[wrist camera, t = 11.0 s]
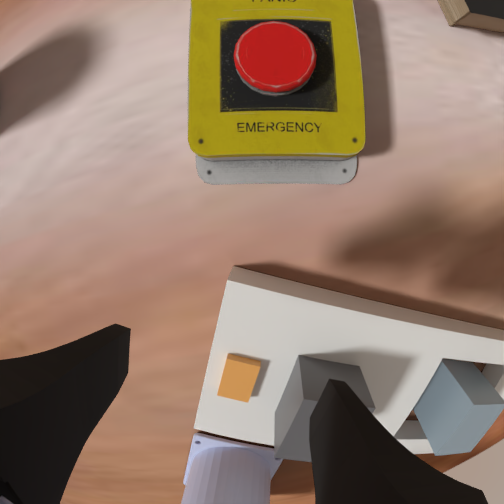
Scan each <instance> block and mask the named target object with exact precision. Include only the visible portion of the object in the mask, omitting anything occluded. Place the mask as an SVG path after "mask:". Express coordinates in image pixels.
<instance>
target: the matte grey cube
mask: <svg viewBox="0 0 504 504" xmlns="http://www.w3.org/2000/svg"><path fill="white" fill-rule="evenodd" d="M329 379H334V380H340V381H345V382H346V383H347V384H348V385H349V387H350V388H351V389H352V390H353V391H354V393H355V394H356V395H357V396H358V397H359V399H360V400H361V401H362V402H363V403H364V405H365V406H366V407H367V408H368V409H369V411H370V412H371V413H373V412H374V410H375V409H376V408H375V405H374V402H373V400H372V397H371V394H370V392H369V389H368V387H367V384H366V381H365V379H364V376H363V374H362V371H361V369H360V366H356V365H350V364H344V363H338V362H333V361H327V360H322V359H317V358H312V357H307V356H302V355H298V357H297V360H296V362H295V365H294V367H293V370H292V372H291V375H290V377H289V380H288V382H287V385H286V387H285V390H284V392H283V394H282V397H281V399H280V402H279V404H278V406H277V409H276V411H275V425H274V458H281V459H289V460H297V461H306V462H312V461H311V452H310V444H309V422H310V416H311V414H312V412H313V410H314V408H315V406H316V404H317V402H318V400H319V398H320V396H321V394H322V392H323V390H324V388H325V386H326V384H327V382H328V380H329Z"/></svg>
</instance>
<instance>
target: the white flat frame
mask: <svg viewBox="0 0 504 504" xmlns="http://www.w3.org/2000/svg"><path fill="white" fill-rule="evenodd" d="M298 355H302V356H307V357H312V358H317V359H322V360H327V361H333V362H338V363H344V364H350V365H356V366H360V369H361V371H362V374H363V376H364V379H365V381H366V384H367V387H368V389H369V392H370V394H371V397H372V400H373V402H374V405H375V408H376V409H375V410H374V412H373V413H372V414H373V415H374V416H375V418H376V419H377V420H378V421H379V422H380V423H381V424H382V425H383V426H384V427H385V428H386V429H387V430H388V431H389V433H390V434H391V435H392V436H393V437H394V438H396V439H397V440H398V441H399V442H400V443H401V444H402V445H403V446H405V447H406V448H407V449H408V450H409V451H410V452H412V453H413V454H427V453H434V452H433V450H432V448H431V446H430V443H429V441H428V439H427V437H426V435H425V433H424V431H423V429H422V427H421V424H420V422H419V421H416V420H405V419H406V418H407V417H408V415H409V414H410V412H411V411H412V409H413V408H414V406H415V404H416V403H417V401H418V400H419V398H420V397H421V395H422V393H423V392H424V390H425V388H426V387H427V385H428V383H429V382H430V380H431V378H432V377H433V375H434V373H435V371H436V370H437V368H438V366H439V364H440V362H441V360H442V359H443V358H448V359H455V360H463V361H472V362H481V363H487V364H486V366H485V368H484V369H483V371H482V374H483V375H484V376H485V378H486V379H487V380H488V381H489V382H490V384H491V385H492V386H493V387H494V388H495V390H496V391H497V392H498V393H499V395H500V396H501V397H502V398H503V400H504V330H501V329H496V328H492V327H487V326H482V325H478V324H473V323H469V322H464V321H460V320H455V319H451V318H446V317H442V316H437V315H433V314H429V313H424V312H420V311H415V310H411V309H407V308H402V307H398V306H394V305H390V304H385V303H381V302H377V301H373V300H368V299H364V298H360V297H356V296H352V295H348V294H343V293H339V292H335V291H331V290H327V289H323V288H319V287H315V286H311V285H307V284H303V283H299V282H295V281H291V280H287V279H283V278H279V277H275V276H271V275H267V274H263V273H259V272H255V271H251V270H247V269H243V268H239V267H235V266H233V267H232V270H231V272H230V275H229V277H228V280H227V284H226V288H225V292H224V296H223V301H222V305H221V309H220V314H219V318H218V322H217V326H216V331H215V335H214V339H213V344H212V348H211V353H210V357H209V361H208V366H207V370H206V375H205V379H204V384H203V388H202V393H201V397H200V402H199V406H198V411H197V415H196V420H195V425H194V429H198V430H202V431H206V432H209V433H214V434H218V435H222V436H226V437H231V438H236V439H240V440H245V441H250V442H256V443H261V444H267V445H273V446H274V425H275V411H276V409H277V406H278V404H279V402H280V399H281V397H282V394H283V392H284V390H285V387H286V385H287V382H288V380H289V377H290V375H291V372H292V370H293V367H294V365H295V362H296V360H297V357H298Z"/></svg>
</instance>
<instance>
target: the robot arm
mask: <svg viewBox="0 0 504 504" xmlns="http://www.w3.org/2000/svg"><path fill="white" fill-rule="evenodd" d="M130 330H131V329H130V328H127V327H124V326H121V325H118V324H113V325H111V326H108V327H106V328H103V329H101V330H99V331H97V332H94V333H92V334H90V335H88V336H85V337H83V338H80V339H78V340H76V341H73V342H71V343H68V344H65V345H62V346H59V347H57V348H54V349H51V350H48V351H45V352H41V353H37V354H33V355H29V356H24V357H19V358H12V359H5V360H0V504H60V501H61V498H62V495H63V493H64V490H65V487H66V485H67V482H68V479H69V477H70V475H71V472H72V470H73V468H74V466H75V463H76V461H77V459H78V457H79V455H80V453H81V451H82V449H83V446H84V444H85V442H86V441H87V439H88V437H89V436H90V434H91V432H92V431H93V429H94V428H95V426H96V425H97V424H98V422H99V421H100V419H101V418H102V416H103V415H104V413H105V412H106V410H107V409H108V407H109V406H110V404H111V403H112V401H113V400H114V398H115V397H116V395H117V394H118V392H119V390H120V388H121V386H122V384H123V382H124V380H125V378H126V376H127V374H128V365H129V345H130ZM309 444H310V452H311V461H312V469H313V477H314V485H315V498H316V502H315V504H488V502H487V500H486V498H485V496H484V493H483V492H482V490H479V489H476V488H474V487H471V486H469V485H466V484H464V483H461V482H459V481H457V480H454V479H453V478H451V477H449V476H447V475H445V474H443V473H441V472H439V471H438V470H436V469H434V468H433V467H431V466H430V465H428V464H427V463H425V462H424V461H422V460H421V459H420V458H418V457H417V456H416V455H414V454H413V453H412V452H410V451H409V450H408V449H407V448H406V447H405V446H403V445H402V444H401V443H400V442H399V441H398V440H397V439H396V438H394V437H393V436H392V435H391V434H390V433H389V431H388V430H387V429H386V428H385V427H384V426H383V425H382V424H381V423H380V422H379V421H378V420H377V419H376V418H375V416H374V415H373V414H372V413H371V412H370V411H369V409H368V408H367V407H366V406H365V405H364V403H363V402H362V401H361V400H360V399H359V397H358V396H357V395H356V394H355V393H354V391H353V390H352V389H351V388H350V387H349V385H348V384H347V383H346V382H345V381H340V380H334V379H329V380H328V382H327V384H326V386H325V388H324V390H323V392H322V394H321V396H320V398H319V400H318V402H317V404H316V406H315V408H314V410H313V412H312V414H311V416H310V422H309ZM282 461H283V459H281V458H274V448H268V447H262V446H257V445H251V444H246V443H241V442H236V441H231V440H227V439H222V438H218V437H214V436H210V435H206V434H202V433H195V434H194V436H193V440H192V444H191V449H190V454H189V458H188V463H187V468H186V472H185V477H184V482H183V484H184V485H186V487H185V490H184V494H183V498H182V502H181V504H270V481H271V479H272V477H273V476H274V474H275V472H276V471H277V469H278V467H279V466H280V464H281V462H282Z"/></svg>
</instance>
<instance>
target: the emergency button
mask: <svg viewBox="0 0 504 504" xmlns="http://www.w3.org/2000/svg"><path fill="white" fill-rule="evenodd" d="M188 142H189V145H190V148H191V150H192V151H193V152H194V153H196V168H197V172H198V176H199V177H200V178H201V179H202V180H203V181H204V182H205V183H209V184H212V185H217V184H265V183H299V184H344V183H347V182H349V181H350V180H351V179H352V178H353V177H354V176H355V172H356V168H357V154H358V153H359V152H360V151H361V150H362V149H363V148H364V144H365V112H364V94H363V80H362V68H361V57H360V48H359V39H358V31H357V23H356V16H355V9H354V3H353V0H191V9H190V29H189V59H188Z"/></svg>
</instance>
